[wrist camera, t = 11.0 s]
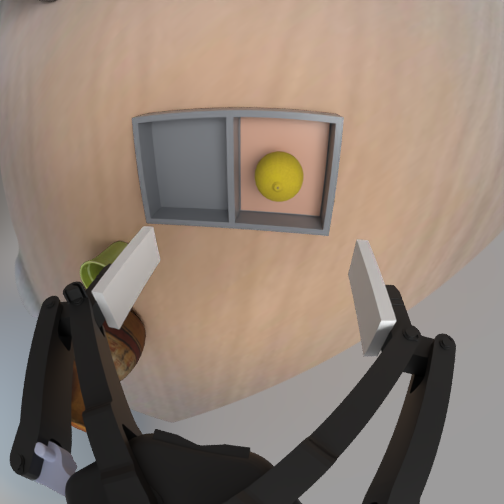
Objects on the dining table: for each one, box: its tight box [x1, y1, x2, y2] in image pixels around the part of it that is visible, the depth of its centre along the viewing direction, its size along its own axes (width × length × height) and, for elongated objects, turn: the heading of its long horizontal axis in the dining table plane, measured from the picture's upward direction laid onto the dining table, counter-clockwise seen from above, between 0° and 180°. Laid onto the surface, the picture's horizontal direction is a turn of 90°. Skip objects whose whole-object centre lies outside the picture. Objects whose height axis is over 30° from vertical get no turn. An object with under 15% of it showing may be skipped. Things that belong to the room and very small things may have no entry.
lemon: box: [255, 151, 304, 202], centre depth 30 cm, size 6×6×8 cm
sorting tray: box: [132, 107, 344, 236], centre depth 33 cm, size 15×25×4 cm, turn 90°
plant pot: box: [80, 241, 128, 289], centre depth 43 cm, size 9×9×9 cm
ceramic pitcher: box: [71, 311, 146, 432], centre depth 46 cm, size 20×20×30 cm
